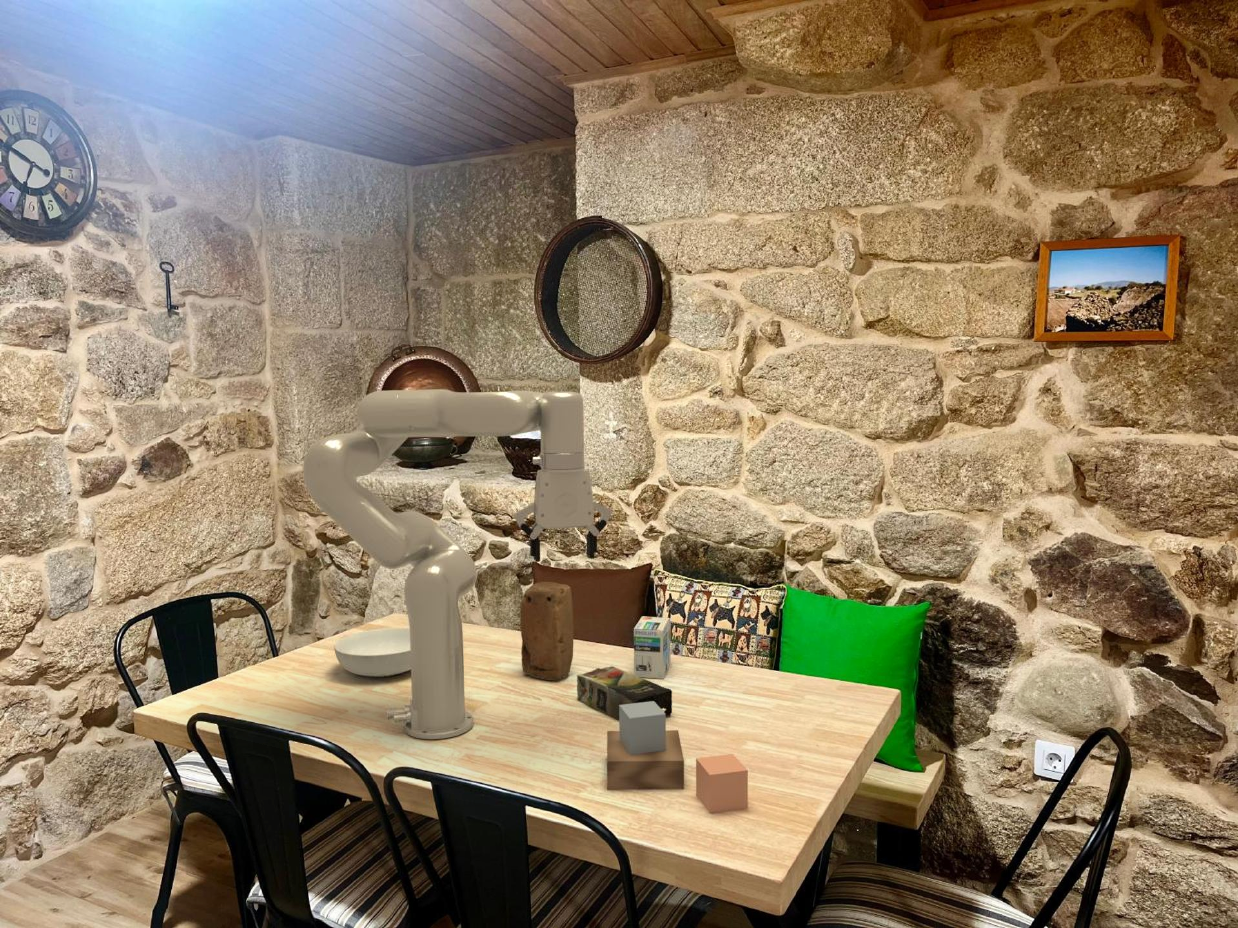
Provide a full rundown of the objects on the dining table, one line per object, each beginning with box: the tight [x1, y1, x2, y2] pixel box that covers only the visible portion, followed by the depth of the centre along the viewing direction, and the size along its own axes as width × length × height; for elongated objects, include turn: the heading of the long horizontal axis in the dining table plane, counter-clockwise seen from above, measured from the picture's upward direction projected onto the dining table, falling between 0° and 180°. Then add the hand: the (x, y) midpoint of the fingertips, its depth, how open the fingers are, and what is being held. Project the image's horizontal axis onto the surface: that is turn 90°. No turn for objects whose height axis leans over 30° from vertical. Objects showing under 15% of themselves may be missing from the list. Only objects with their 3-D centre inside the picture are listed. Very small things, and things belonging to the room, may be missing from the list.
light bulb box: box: [633, 615, 672, 680], centre depth 196 cm, size 11×7×11 cm, turn 168°
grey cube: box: [618, 701, 667, 755], centre depth 146 cm, size 6×6×6 cm
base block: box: [606, 729, 685, 791], centre depth 146 cm, size 12×12×5 cm
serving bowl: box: [333, 627, 411, 678], centre depth 198 cm, size 21×21×7 cm
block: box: [519, 581, 574, 681], centre depth 193 cm, size 11×8×20 cm
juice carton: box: [576, 665, 673, 721], centre depth 175 cm, size 20×10×6 cm, turn 38°
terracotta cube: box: [695, 753, 749, 814], centre depth 136 cm, size 6×6×6 cm
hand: (563, 558), depth 158 cm, fingers open, 9 cm apart
